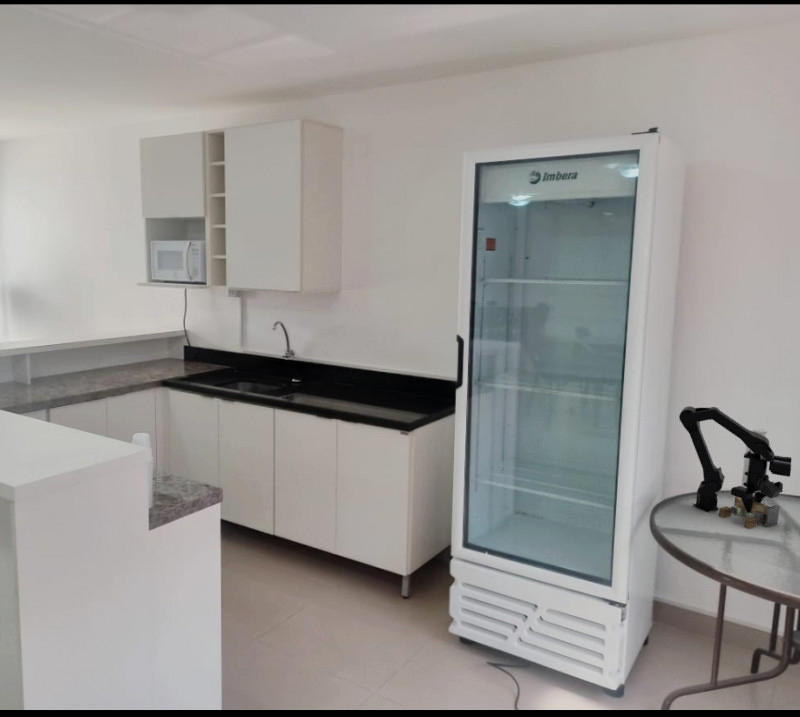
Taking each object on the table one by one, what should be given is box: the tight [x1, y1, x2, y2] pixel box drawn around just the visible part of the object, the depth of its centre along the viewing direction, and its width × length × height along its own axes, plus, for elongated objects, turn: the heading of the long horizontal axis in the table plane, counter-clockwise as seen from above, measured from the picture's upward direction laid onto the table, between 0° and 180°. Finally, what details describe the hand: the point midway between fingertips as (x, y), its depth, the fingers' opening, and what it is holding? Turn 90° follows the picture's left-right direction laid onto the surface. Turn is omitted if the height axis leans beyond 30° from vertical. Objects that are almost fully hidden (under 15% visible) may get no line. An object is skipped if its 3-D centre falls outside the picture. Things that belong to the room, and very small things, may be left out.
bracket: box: [730, 504, 780, 528], centre depth 233 cm, size 15×7×7 cm, turn 27°
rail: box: [733, 496, 770, 518], centre depth 233 cm, size 12×4×4 cm, turn 27°
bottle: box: [740, 428, 771, 500], centre depth 248 cm, size 8×8×28 cm
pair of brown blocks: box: [718, 506, 758, 530], centre depth 230 cm, size 12×4×3 cm, turn 27°
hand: (751, 511), depth 233 cm, fingers closed on rail, 3 cm apart
